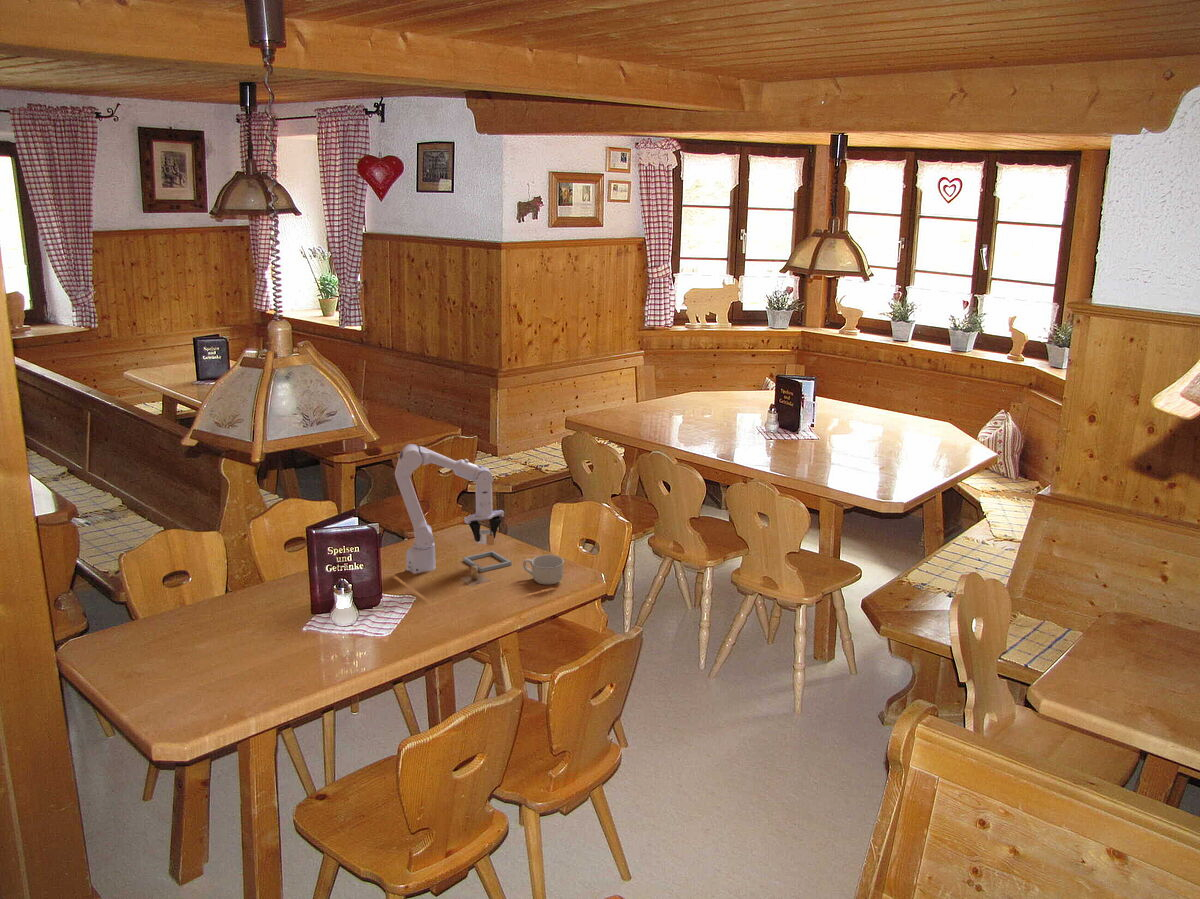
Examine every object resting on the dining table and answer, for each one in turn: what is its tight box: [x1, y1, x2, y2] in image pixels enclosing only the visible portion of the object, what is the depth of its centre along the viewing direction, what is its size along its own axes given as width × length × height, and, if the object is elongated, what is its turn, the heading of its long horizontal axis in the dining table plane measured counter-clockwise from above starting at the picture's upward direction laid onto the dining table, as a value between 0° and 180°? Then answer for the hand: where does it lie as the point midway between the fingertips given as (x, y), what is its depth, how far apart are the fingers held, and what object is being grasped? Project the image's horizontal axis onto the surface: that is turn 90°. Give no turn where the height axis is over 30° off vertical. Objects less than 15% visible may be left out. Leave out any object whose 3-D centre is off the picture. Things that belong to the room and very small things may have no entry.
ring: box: [476, 528, 495, 547], centre depth 342 cm, size 6×7×4 cm
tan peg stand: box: [458, 566, 492, 587], centre depth 330 cm, size 8×8×5 cm
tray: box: [462, 550, 513, 573], centre depth 345 cm, size 12×13×2 cm
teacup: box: [522, 554, 565, 586], centre depth 330 cm, size 14×11×8 cm
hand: (485, 539), depth 343 cm, fingers closed on ring, 6 cm apart
